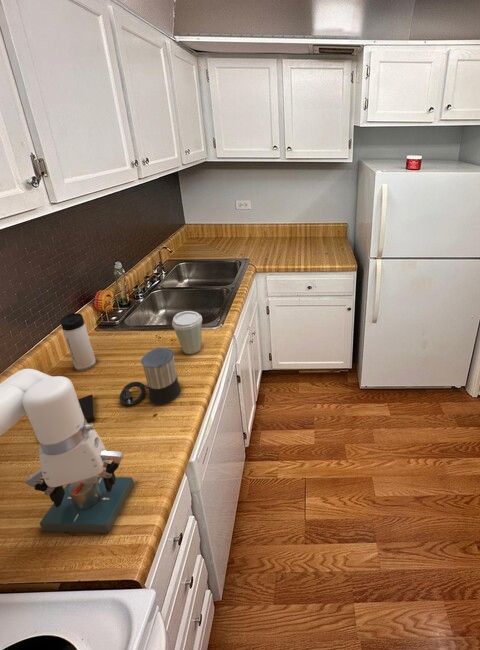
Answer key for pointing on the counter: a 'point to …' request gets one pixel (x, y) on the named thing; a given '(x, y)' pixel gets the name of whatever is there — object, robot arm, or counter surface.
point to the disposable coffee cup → (188, 330)
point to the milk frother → (156, 379)
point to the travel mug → (78, 341)
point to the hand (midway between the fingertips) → (86, 492)
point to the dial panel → (89, 510)
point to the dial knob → (85, 493)
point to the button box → (87, 408)
